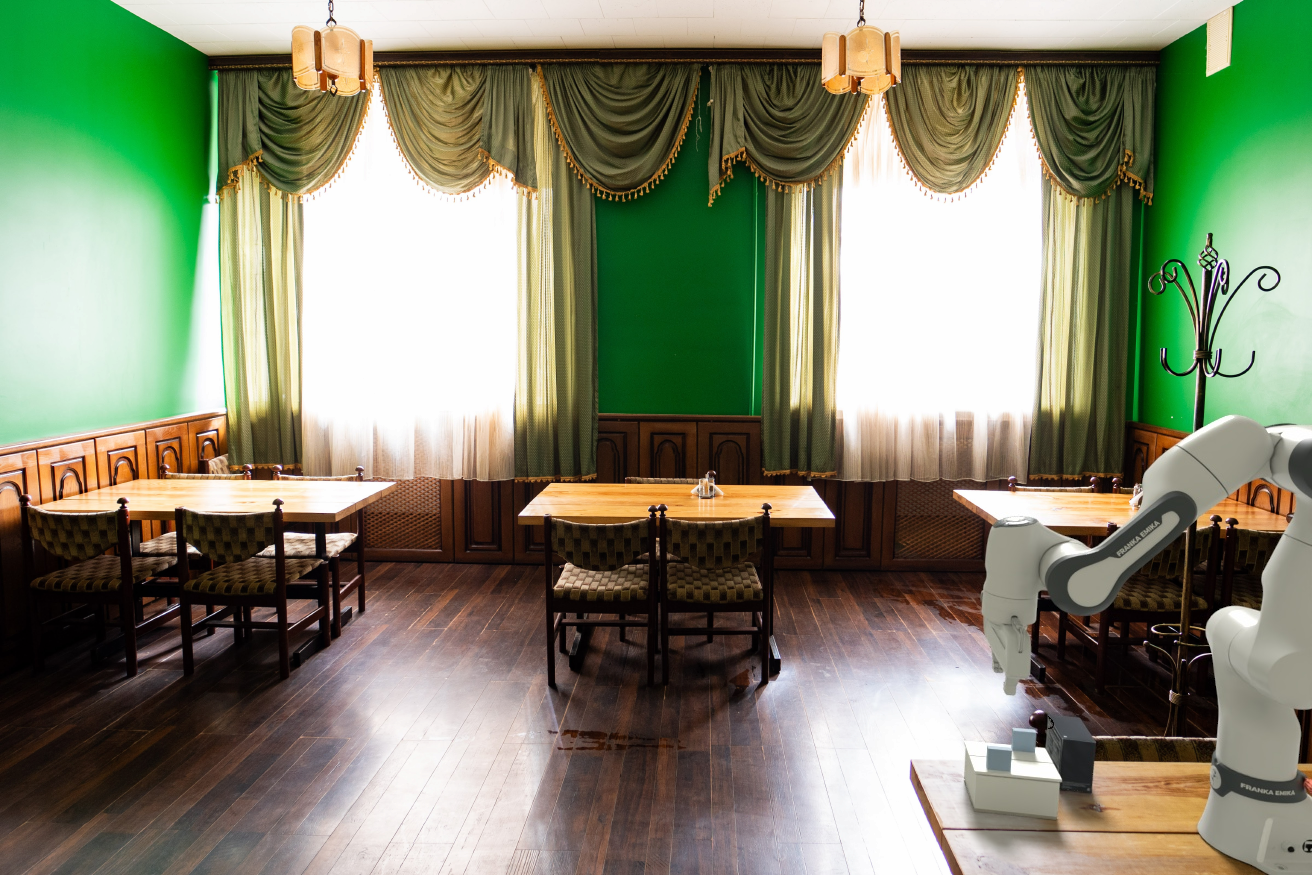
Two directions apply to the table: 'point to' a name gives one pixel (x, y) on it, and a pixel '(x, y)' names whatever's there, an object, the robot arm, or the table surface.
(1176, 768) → the table surface
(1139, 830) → the table surface
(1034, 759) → the lid panel far
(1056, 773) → the lid panel near
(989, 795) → the carton
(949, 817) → the table surface
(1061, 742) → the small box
